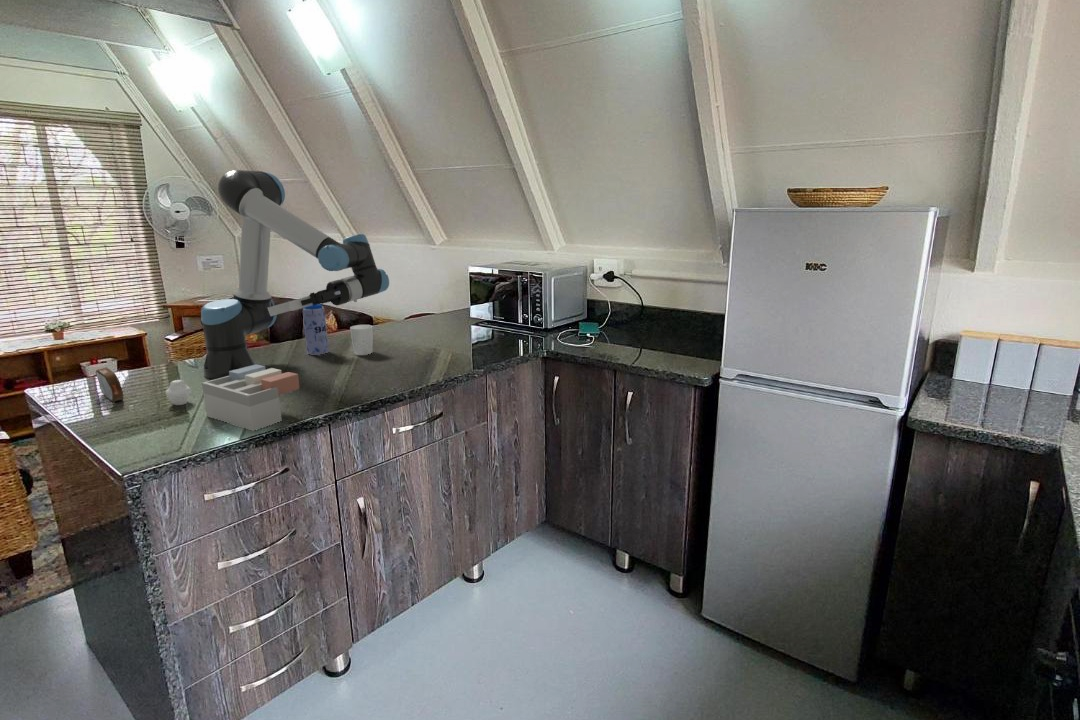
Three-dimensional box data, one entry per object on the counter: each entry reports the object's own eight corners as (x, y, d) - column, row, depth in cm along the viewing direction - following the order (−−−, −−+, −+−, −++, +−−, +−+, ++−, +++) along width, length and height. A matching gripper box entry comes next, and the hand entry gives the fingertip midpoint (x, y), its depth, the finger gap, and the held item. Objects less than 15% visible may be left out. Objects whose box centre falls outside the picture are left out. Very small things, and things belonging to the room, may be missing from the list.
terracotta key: (262, 394, 151) (261, 379, 150) (290, 386, 158) (288, 371, 157) (272, 396, 149) (270, 381, 148) (299, 388, 156) (298, 374, 155)
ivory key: (246, 389, 155) (244, 375, 153) (273, 381, 161) (272, 367, 160) (255, 392, 153) (253, 377, 151) (283, 384, 159) (281, 370, 158)
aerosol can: (314, 356, 213) (308, 302, 207) (302, 353, 217) (296, 300, 212) (333, 352, 219) (328, 299, 213) (321, 349, 223) (316, 297, 218)
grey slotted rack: (207, 416, 155) (201, 382, 152) (235, 407, 161) (231, 375, 159) (253, 431, 145) (248, 395, 142) (281, 421, 151) (277, 387, 149)
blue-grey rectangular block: (231, 385, 158) (228, 371, 157) (258, 378, 165) (256, 364, 164) (239, 387, 156) (237, 373, 155) (267, 380, 163) (265, 366, 162)
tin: (126, 402, 165) (120, 374, 163) (112, 405, 163) (106, 376, 161) (111, 391, 175) (105, 364, 173) (98, 394, 173) (92, 366, 170)
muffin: (197, 399, 167) (194, 376, 165) (184, 407, 161) (180, 383, 160) (176, 399, 168) (172, 376, 166) (162, 407, 162) (158, 382, 160)
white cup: (368, 356, 213) (366, 329, 211) (348, 355, 215) (345, 328, 212) (378, 351, 221) (376, 325, 218) (358, 350, 222) (356, 324, 219)
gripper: (368, 297, 175) (303, 317, 160) (328, 307, 192) (266, 325, 177) (360, 273, 174) (293, 290, 159) (320, 285, 191) (257, 302, 176)
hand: (279, 309), depth 168 cm, fingers open, 13 cm apart
